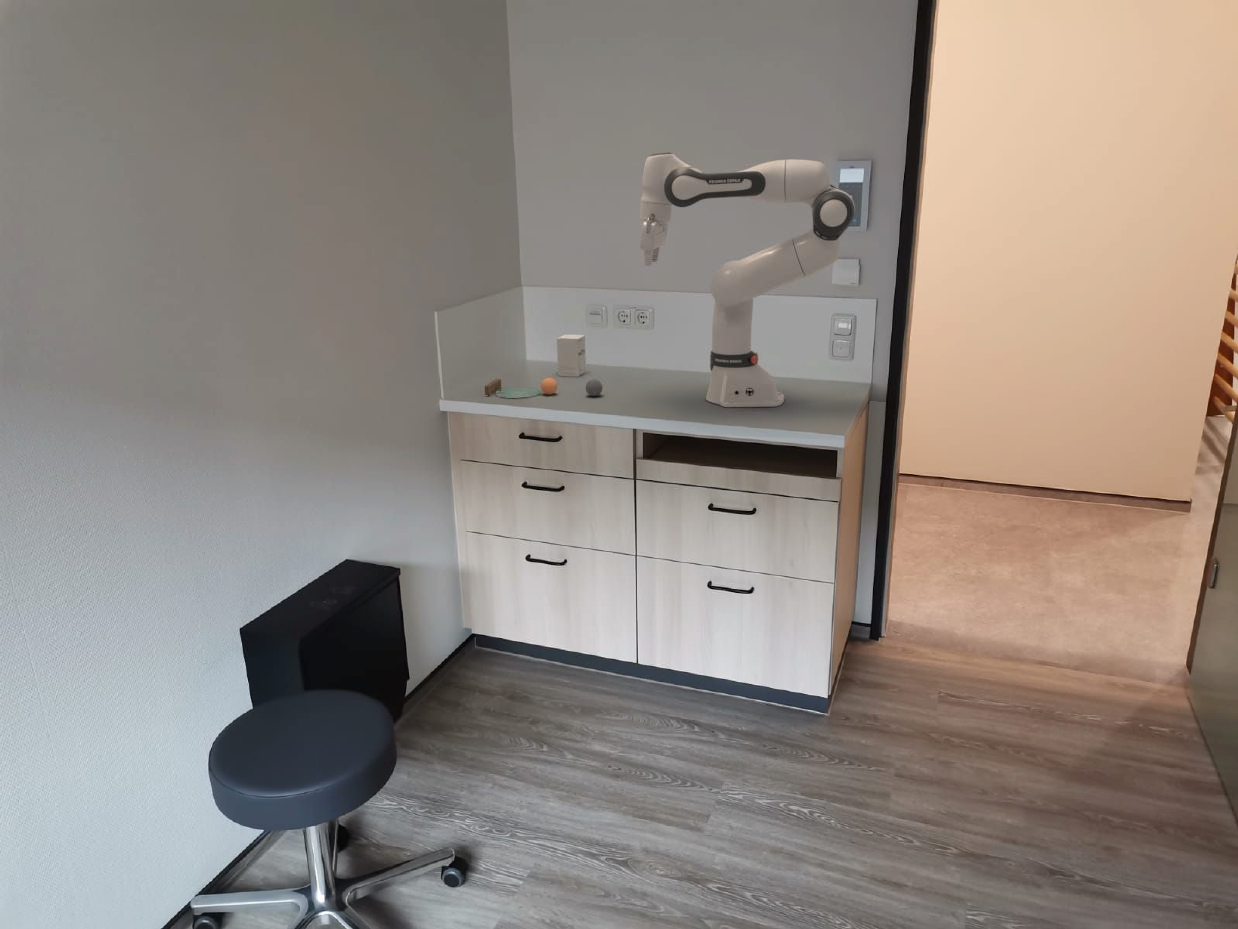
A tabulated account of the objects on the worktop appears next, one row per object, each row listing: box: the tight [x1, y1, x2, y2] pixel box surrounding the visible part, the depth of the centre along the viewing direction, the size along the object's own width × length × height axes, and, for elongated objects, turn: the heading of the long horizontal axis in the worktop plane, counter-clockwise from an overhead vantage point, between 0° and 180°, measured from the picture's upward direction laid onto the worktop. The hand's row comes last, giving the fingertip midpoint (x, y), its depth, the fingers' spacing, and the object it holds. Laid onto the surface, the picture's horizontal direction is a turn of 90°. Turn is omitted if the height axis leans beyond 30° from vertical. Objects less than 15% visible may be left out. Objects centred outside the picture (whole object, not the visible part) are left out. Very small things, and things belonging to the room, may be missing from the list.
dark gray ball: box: [585, 379, 603, 397], centre depth 273 cm, size 5×5×5 cm
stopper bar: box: [484, 378, 502, 397], centre depth 280 cm, size 2×10×3 cm, turn 167°
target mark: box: [494, 386, 542, 399], centre depth 279 cm, size 14×14×1 cm
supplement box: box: [556, 334, 587, 378], centre depth 300 cm, size 7×7×13 cm
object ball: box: [540, 377, 558, 396], centre depth 276 cm, size 5×5×5 cm
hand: (651, 263), depth 259 cm, fingers open, 8 cm apart
